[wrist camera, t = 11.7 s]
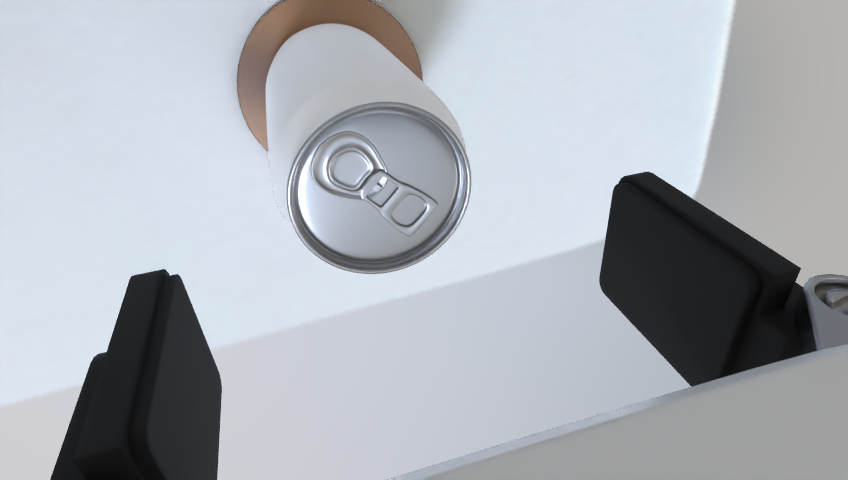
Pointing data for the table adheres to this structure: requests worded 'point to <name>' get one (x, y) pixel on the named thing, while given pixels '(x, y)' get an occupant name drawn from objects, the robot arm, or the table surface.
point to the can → (361, 152)
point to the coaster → (301, 9)
